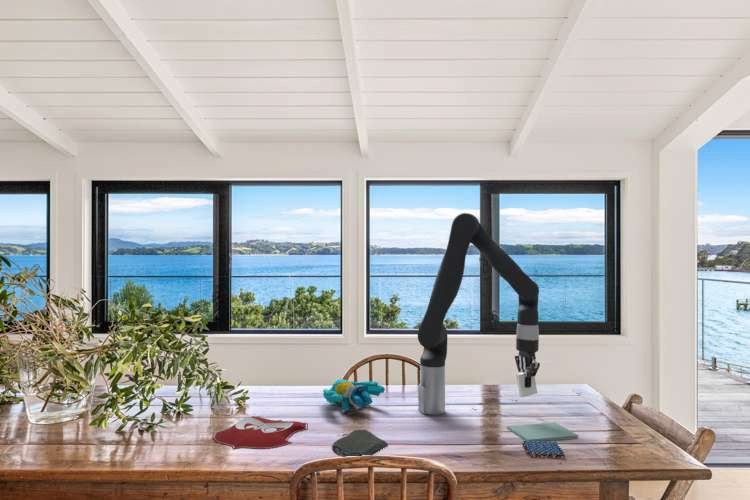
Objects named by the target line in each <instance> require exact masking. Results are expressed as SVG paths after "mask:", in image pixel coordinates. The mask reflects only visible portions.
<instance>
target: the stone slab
mask: <svg viewBox="0 0 750 500" xmlns="http://www.w3.org/2000/svg"><path fill="white" fill-rule="evenodd" d="M388 446H389V444H388V442H387V441H385V440H383V439H381V438H379V437H378V436H376V435H375V434H373V433H372V432H371V431H368V430H367V429H355V430H353V431H351V432H350V433H349V434H348V435H346V436H343V437H340V438H339V439H336V440H335V441H334V442H333V443H332V446H331V450H332V452H333V453H334V454H336V455H337V456H340V457H344V456H362V455H372V456H373V455H374V454H377V453H379V452H381V451H382V450H384V449H386V448H387V447H388ZM385 447H386V448H385ZM383 448H384V449H383ZM381 449H382V450H381ZM380 450H381V451H380ZM378 451H379V452H378ZM376 452H377V453H376Z"/></svg>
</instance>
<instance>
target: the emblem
mask: <svg viewBox="0 0 750 500" xmlns="http://www.w3.org/2000/svg"><path fill="white" fill-rule="evenodd" d="M308 424H309V423H308V422H301V421H294V420H293V421H292V420H291V421H289V420H287V421H285V420H284V421H283V420H282V419H277V420H276V419H275V420H273V419H268V418H264V417H260V416H255V415H252V416H248V417H244V418H243V419H240V420H239V421H237V422H236V423H234V424H233V425H232V426H230V427H229V428H226V429H224V430H219V431H216V432H214V434H213V435H212V441H214V442H215V443H217V444H219V445H223V446H226V447H230V448H232V450H238V449H247V450H248V449H249V450H270V449H278V448H281V447H286V446H288V445H290V444H293V442H292V441H289V439H291V438H292V436H293V435H295V434H296V433H299V432H300V433H301V432H303V431H308V430H309V426H308Z"/></svg>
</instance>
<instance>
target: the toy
mask: <svg viewBox="0 0 750 500" xmlns="http://www.w3.org/2000/svg"><path fill="white" fill-rule="evenodd" d="M385 390H386V388H385V387H384V386H382V385H379V382H376V381H359V382H358V381H355V380H352V381H350V380H346V379H343V378H340V379H337V380H335V381H334V383H333V384H332V386H331V388H330V389H328V388H324V389H323V391H322V392H323V393H322V394H323V398H324V399H325V400H326V401H327V403H329V404H330V403H331V404H335V405H338V406H339V407H341V408H340V410H341V413H345V412H346V411H349V410H351V408H350V407H351V406H353V407H354V408H355V409H356V410H360V408H361V407H362V408H365V409H366V408H369V407H370V405H371V404H372V403H374V401H373V400H372V397H371V396H370V395H372V396H377V397H379V396H380V395H381V394H384V392H385ZM350 405H351V406H350Z"/></svg>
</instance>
